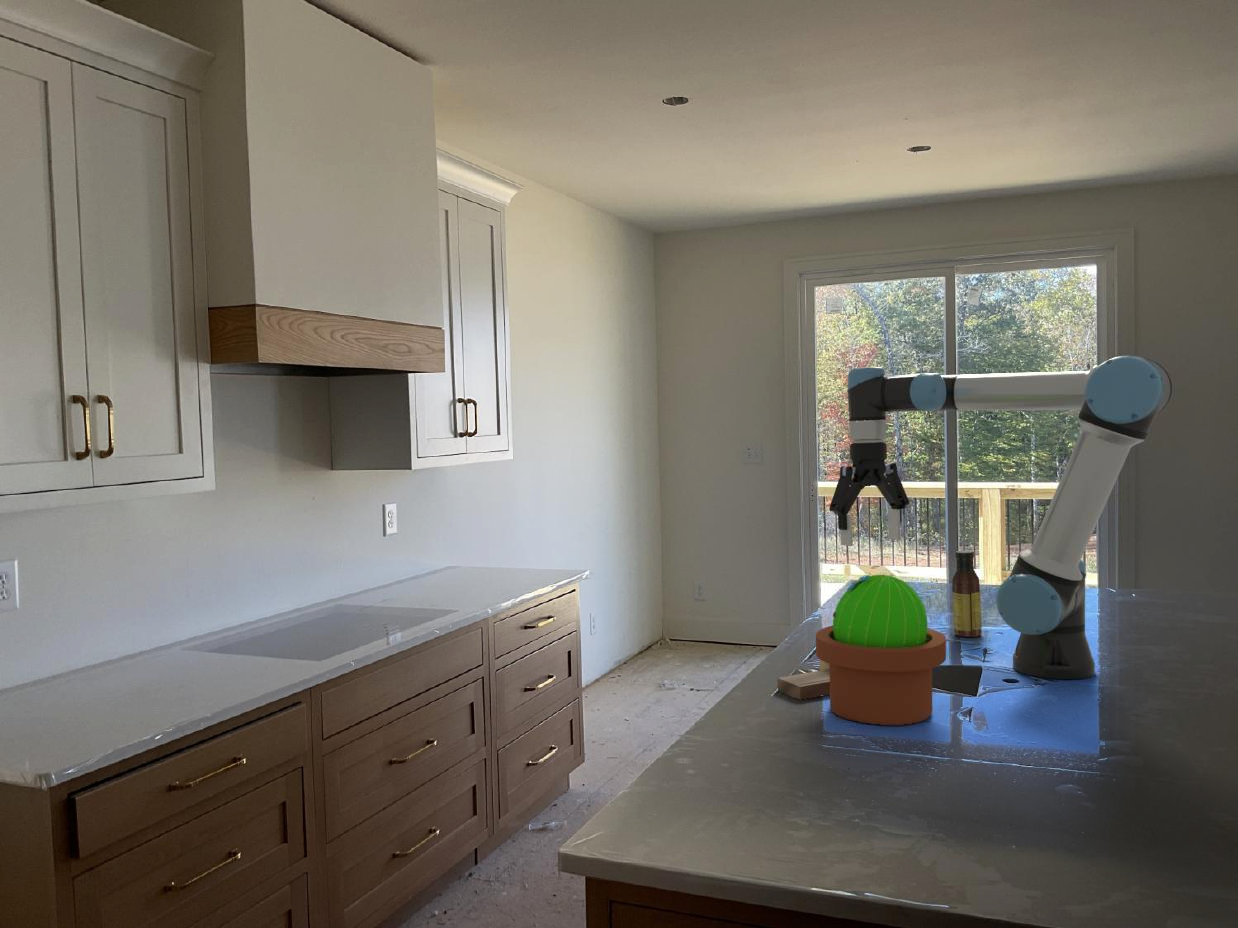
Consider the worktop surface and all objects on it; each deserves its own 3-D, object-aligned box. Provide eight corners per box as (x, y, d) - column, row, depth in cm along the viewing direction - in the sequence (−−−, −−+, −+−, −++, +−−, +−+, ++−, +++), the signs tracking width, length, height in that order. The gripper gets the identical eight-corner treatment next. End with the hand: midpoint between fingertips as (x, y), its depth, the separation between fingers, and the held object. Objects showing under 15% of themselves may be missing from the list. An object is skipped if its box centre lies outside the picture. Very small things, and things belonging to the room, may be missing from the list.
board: (891, 682, 189) (891, 669, 189) (800, 700, 179) (800, 686, 179) (867, 674, 195) (866, 662, 195) (777, 690, 185) (777, 677, 185)
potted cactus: (957, 702, 175) (957, 565, 174) (929, 738, 157) (928, 585, 155) (839, 687, 187) (838, 558, 185) (799, 719, 168) (797, 576, 166)
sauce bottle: (977, 632, 230) (977, 549, 229) (985, 638, 224) (984, 552, 223) (949, 632, 231) (949, 549, 230) (956, 638, 225) (955, 553, 224)
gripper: (898, 439, 212) (900, 535, 213) (810, 444, 200) (813, 546, 201) (924, 438, 206) (927, 538, 207) (834, 443, 194) (838, 549, 194)
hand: (871, 542), depth 204 cm, fingers open, 13 cm apart
